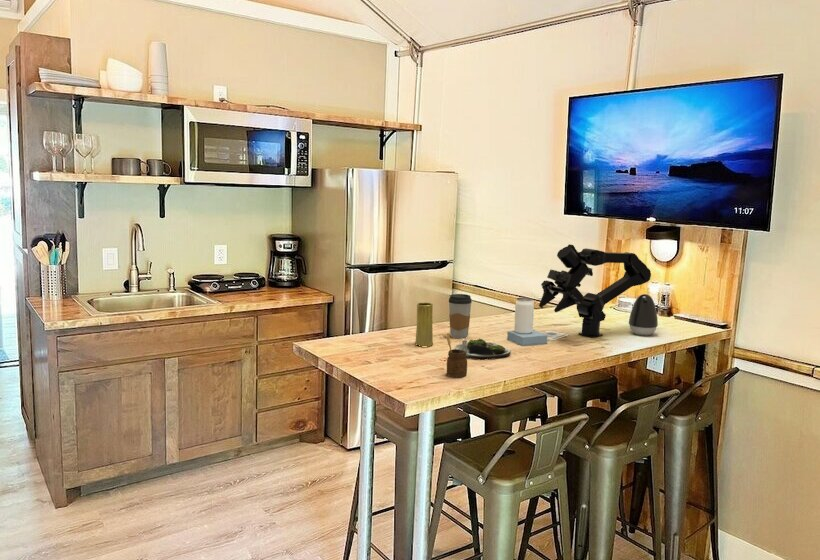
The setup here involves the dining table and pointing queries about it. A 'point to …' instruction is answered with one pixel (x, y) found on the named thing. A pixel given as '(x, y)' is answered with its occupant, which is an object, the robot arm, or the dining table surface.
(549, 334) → the page
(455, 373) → the utensil holder
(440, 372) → the dining table surface
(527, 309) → the can
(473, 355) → the salad plate
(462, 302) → the coffee cup
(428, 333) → the vase
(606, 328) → the dining table surface
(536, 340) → the base brick
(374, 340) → the dining table surface
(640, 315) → the black egg-shaped dome
